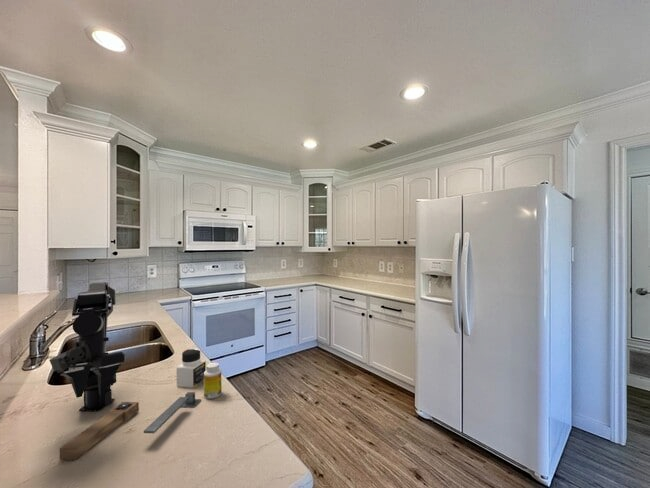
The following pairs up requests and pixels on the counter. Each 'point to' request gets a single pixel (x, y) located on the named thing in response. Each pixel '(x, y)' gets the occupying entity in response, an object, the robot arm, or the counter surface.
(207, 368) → the supplement bottle
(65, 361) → the robot arm
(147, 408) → the counter surface
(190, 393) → the grey flat bar piece
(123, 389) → the counter surface
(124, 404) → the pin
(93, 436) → the tan wooden bar
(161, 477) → the counter surface
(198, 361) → the medicine bottle
